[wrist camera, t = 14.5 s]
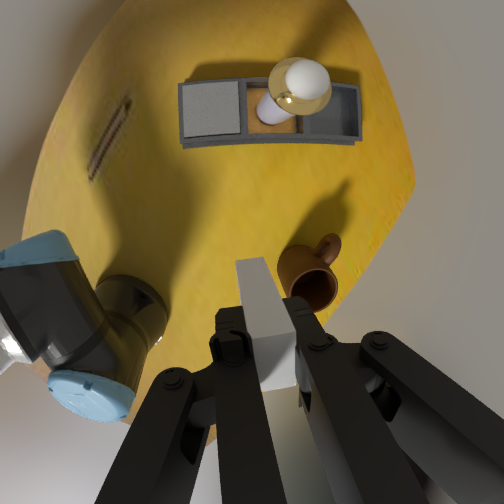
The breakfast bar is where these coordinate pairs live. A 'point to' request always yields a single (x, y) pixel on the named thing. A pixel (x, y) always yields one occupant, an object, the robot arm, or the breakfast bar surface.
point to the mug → (311, 272)
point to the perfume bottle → (294, 90)
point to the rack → (251, 126)
